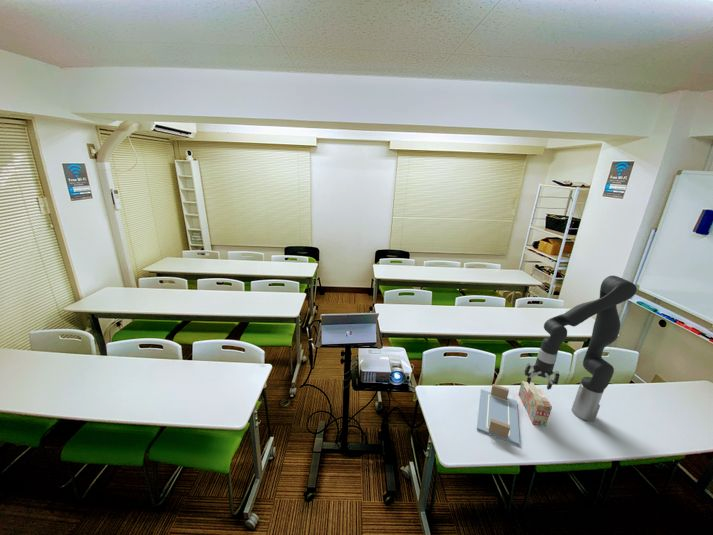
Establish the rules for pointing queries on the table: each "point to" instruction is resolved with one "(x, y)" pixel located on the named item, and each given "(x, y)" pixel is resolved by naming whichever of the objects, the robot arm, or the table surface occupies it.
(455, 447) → the table surface
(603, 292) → the robot arm
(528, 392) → the stack of blocks
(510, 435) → the board
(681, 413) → the table surface
